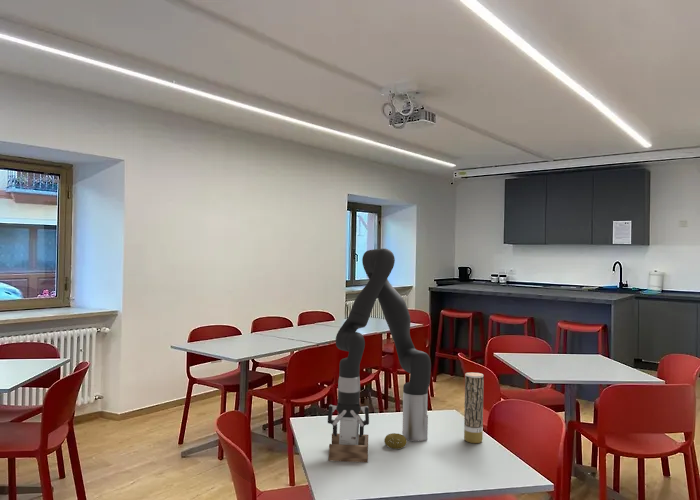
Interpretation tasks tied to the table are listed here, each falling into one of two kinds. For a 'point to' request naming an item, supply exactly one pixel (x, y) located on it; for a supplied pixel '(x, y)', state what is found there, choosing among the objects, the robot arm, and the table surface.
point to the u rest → (349, 450)
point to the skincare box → (349, 431)
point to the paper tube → (473, 407)
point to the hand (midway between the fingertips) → (348, 436)
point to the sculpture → (395, 441)
